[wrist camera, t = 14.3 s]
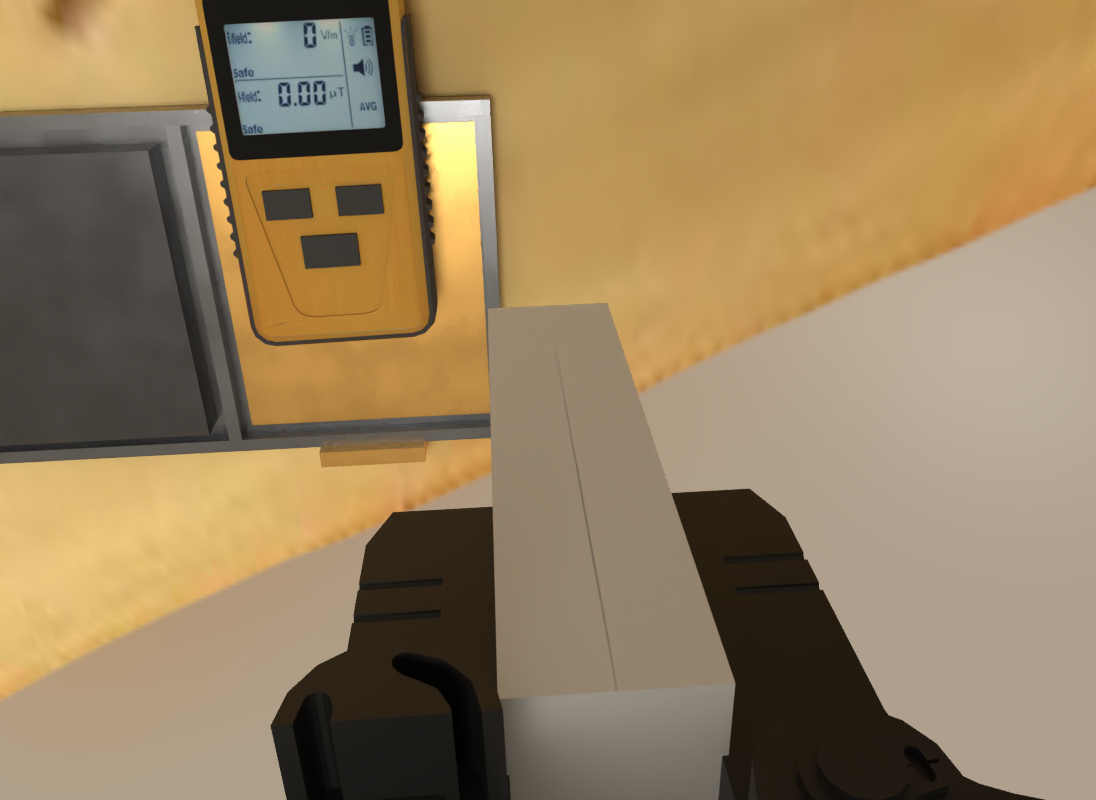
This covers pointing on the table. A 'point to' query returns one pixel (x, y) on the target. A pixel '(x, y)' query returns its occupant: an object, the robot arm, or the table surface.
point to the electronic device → (322, 166)
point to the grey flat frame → (215, 302)
